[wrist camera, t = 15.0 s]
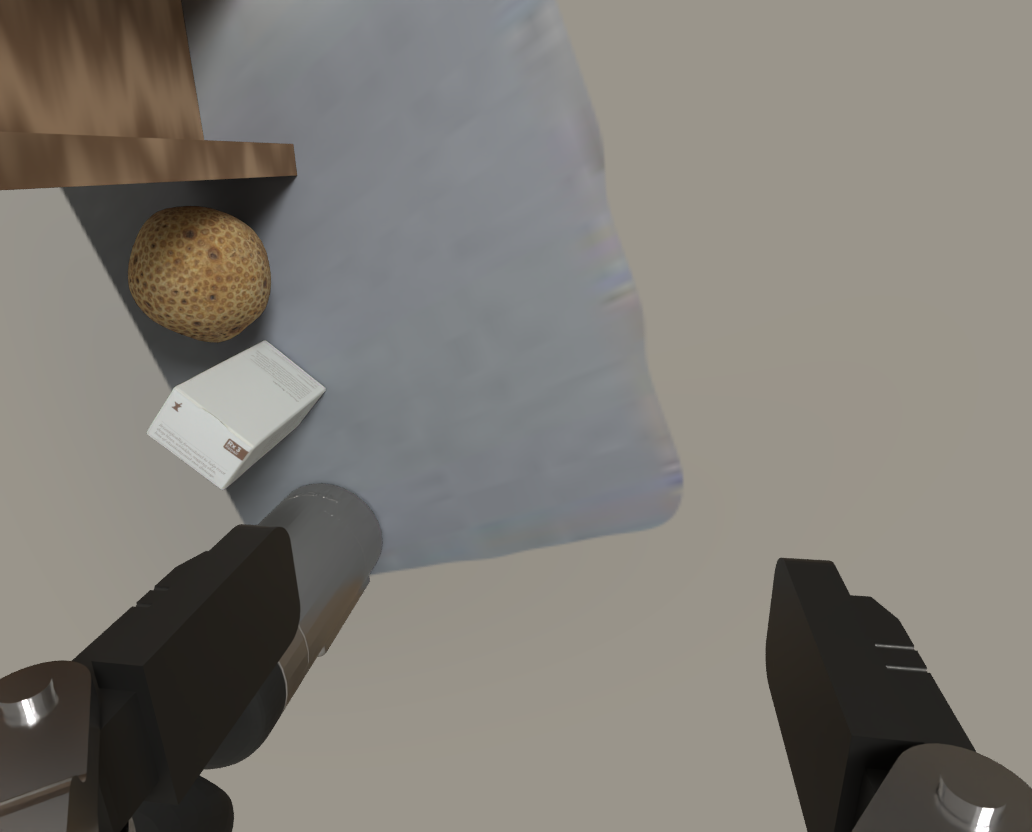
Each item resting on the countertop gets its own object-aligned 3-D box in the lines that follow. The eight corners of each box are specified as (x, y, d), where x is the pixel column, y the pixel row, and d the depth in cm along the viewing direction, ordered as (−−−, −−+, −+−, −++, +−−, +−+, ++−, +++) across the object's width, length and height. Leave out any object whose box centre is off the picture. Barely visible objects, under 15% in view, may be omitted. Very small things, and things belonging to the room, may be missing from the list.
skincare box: (239, 377, 54) (136, 435, 43) (267, 335, 52) (169, 383, 41) (303, 427, 55) (218, 497, 43) (332, 387, 53) (253, 448, 42)
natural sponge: (296, 337, 52) (224, 375, 43) (185, 309, 53) (90, 342, 43) (306, 213, 49) (230, 226, 39) (187, 186, 49) (85, 192, 40)
